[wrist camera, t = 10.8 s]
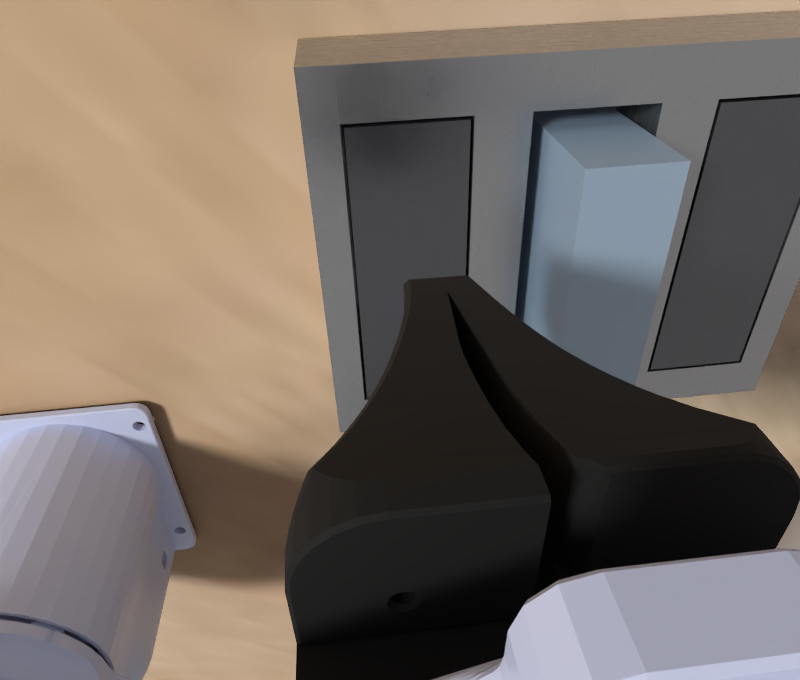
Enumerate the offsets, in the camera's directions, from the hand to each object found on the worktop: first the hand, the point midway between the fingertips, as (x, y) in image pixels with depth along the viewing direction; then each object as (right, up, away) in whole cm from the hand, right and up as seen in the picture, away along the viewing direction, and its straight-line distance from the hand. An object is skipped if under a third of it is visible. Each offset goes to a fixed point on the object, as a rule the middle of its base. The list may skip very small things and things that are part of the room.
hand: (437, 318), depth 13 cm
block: (+4, +4, +9) cm, 11 cm away
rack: (+4, +4, +10) cm, 11 cm away
